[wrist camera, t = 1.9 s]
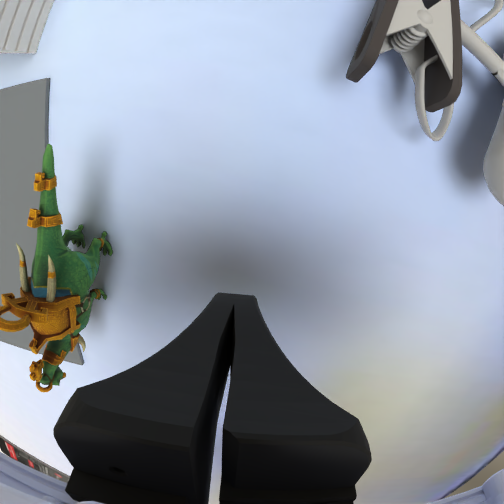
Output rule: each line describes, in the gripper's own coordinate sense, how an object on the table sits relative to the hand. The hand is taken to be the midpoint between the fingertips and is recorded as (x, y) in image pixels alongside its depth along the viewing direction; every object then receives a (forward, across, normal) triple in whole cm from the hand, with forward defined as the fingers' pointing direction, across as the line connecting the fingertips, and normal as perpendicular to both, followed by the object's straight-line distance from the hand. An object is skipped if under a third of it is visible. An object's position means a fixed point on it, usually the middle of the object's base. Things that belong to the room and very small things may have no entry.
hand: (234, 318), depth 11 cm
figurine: (+5, +8, 0) cm, 9 cm away
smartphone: (+6, +27, +36) cm, 45 cm away
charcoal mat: (+5, +16, 0) cm, 16 cm away
